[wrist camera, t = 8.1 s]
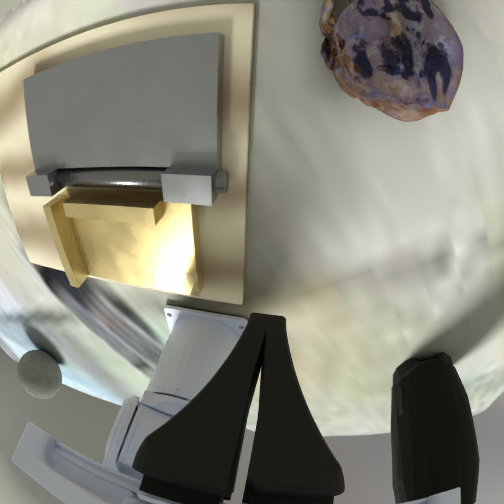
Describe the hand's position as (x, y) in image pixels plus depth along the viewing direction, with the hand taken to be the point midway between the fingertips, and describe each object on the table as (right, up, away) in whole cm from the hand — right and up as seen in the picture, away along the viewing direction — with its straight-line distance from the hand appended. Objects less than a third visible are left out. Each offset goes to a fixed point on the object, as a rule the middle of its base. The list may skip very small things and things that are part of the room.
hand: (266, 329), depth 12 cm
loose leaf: (-10, +4, +10) cm, 15 cm away
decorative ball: (-41, -18, +32) cm, 56 cm away
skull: (+7, +17, -1) cm, 18 cm away
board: (-14, +10, +7) cm, 18 cm away
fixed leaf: (-10, +12, +4) cm, 16 cm away
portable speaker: (+20, -11, +16) cm, 27 cm away
